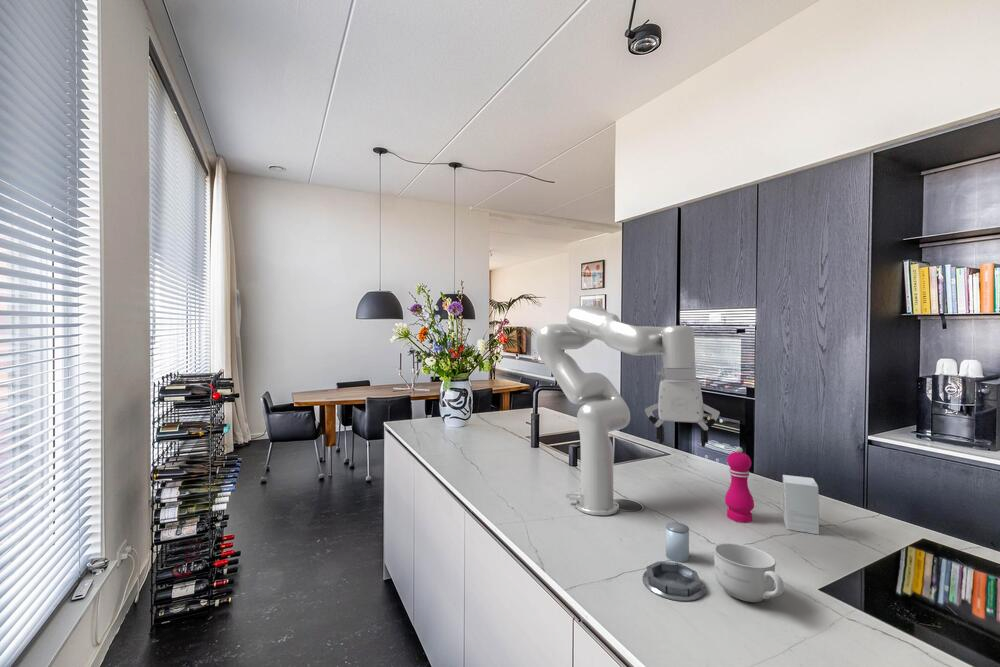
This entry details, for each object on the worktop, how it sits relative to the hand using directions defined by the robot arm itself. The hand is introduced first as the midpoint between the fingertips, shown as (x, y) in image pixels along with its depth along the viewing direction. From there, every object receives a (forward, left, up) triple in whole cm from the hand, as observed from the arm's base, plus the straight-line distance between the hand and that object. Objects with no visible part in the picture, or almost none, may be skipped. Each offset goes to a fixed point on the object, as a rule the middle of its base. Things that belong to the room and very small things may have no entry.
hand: (682, 444), depth 109 cm
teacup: (+8, -22, -25) cm, 34 cm away
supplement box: (+32, +15, -25) cm, 43 cm away
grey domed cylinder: (-3, -8, -25) cm, 26 cm away
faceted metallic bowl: (-6, -20, -24) cm, 32 cm away
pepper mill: (+18, +18, -25) cm, 36 cm away
